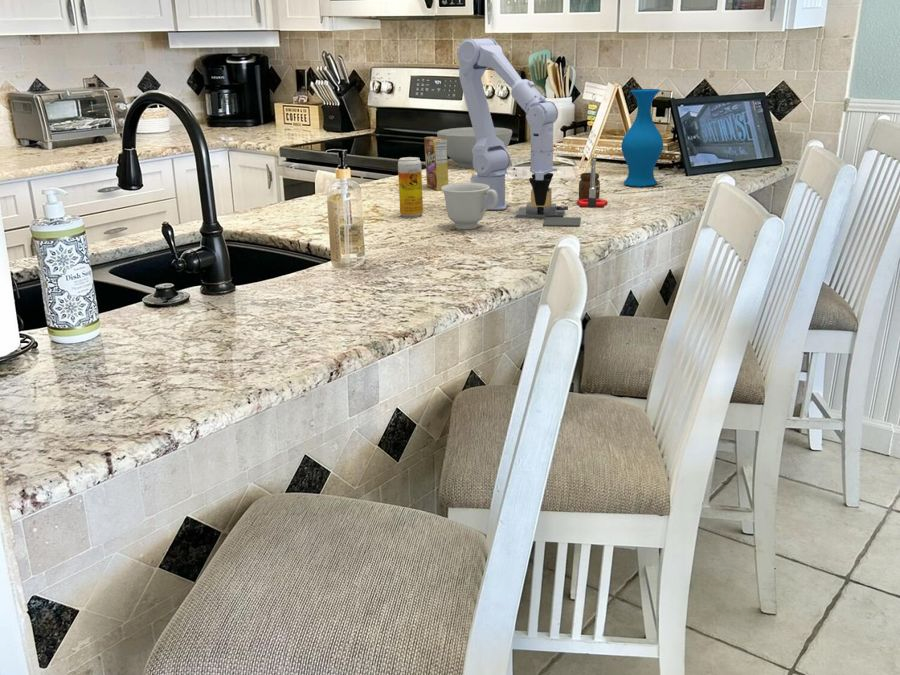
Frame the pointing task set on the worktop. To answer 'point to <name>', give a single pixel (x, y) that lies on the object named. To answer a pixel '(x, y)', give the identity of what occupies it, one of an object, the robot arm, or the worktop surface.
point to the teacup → (467, 203)
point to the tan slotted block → (547, 202)
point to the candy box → (436, 162)
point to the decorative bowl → (467, 143)
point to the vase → (642, 142)
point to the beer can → (410, 187)
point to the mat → (562, 221)
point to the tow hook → (592, 193)
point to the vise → (541, 211)
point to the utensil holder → (588, 183)
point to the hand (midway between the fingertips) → (541, 203)
